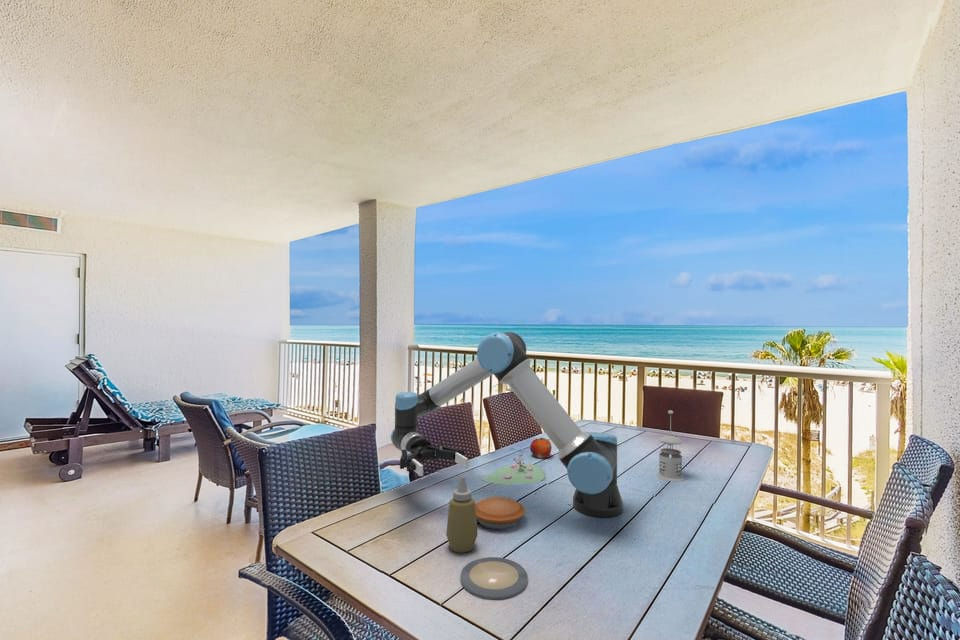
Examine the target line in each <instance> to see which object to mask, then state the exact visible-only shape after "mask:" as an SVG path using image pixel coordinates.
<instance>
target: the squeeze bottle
mask: <svg viewBox="0 0 960 640" xmlns="http://www.w3.org/2000/svg"><path fill="white" fill-rule="evenodd" d="M457 485H458V486H457V488H455V489H454V490H453V492H452V494H453V495H452V498H451V499H450V500H449V504H448V512H447V513H448V515H447V523H446V524H447V525H446V531H445V532H446V534H445V535H446V538H447V541H448V542H447V543H448V544H449V548H450V549H451V550H452V551H453V552H455V553H459V554H463V553H468V552H470V551H472V550H473V549H474V547H475V544H476V540H477V538H478V534H479V533H478V522H477V517H476V510H475V503H476V502H475V501H476V500H475V499H474V498H472V490H471V489H469V488H468V487H467V481H466V478H465V476H463V475H461V476H460V477H459V481H458V484H457Z"/></svg>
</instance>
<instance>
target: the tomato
mask: <svg viewBox="0 0 960 640" xmlns="http://www.w3.org/2000/svg"><path fill="white" fill-rule="evenodd" d="M552 447H553V446H552V443H551V440H550V439H549V440H548V438H544V437H540V438H535V439H532V441H531V442H530V447H529V450H530V452H531V454H532V455H533V456H535V457H536V458H538V459H546V458H548V457H550V455H551V453H552Z"/></svg>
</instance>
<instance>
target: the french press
mask: <svg viewBox="0 0 960 640" xmlns="http://www.w3.org/2000/svg"><path fill="white" fill-rule="evenodd" d="M667 414H669V415H670V416H669V418H670V419H669V422H670V424H669V426H670V427H669V431H670V433H669V434H670V435H664V436H661V437H659V438H658V440H659V441H660V442H661V443H664V444H667V446H669V447H666V448H665V447H664V448H661V449H660V452H659V454H658V458H659V459H658V460H659V462H658V463H659V464H658V466H659V469H658V472H657V473H656V477H657V478H658V479H661V480H663V481H667V482H668V481H669V482H683V481H685V479H686V478H685V477H684V476H683V456H682V455H681V454H682V451H681V450H679V449H676V448H674V445H681V444H683V440H682V439H680V438H679V437H676V436H674V435H672V414H674V411H673V410H669V409H668V411H667ZM670 455H671V456H670Z"/></svg>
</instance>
